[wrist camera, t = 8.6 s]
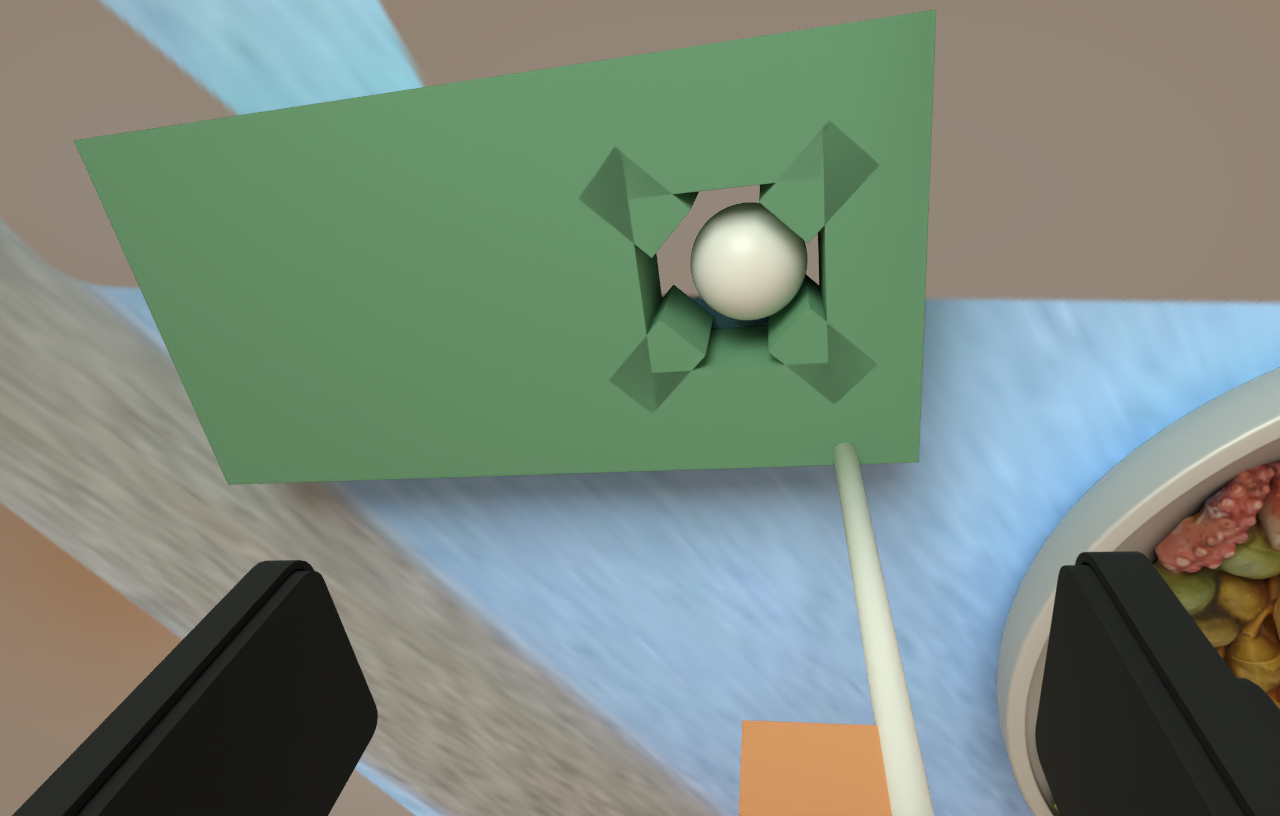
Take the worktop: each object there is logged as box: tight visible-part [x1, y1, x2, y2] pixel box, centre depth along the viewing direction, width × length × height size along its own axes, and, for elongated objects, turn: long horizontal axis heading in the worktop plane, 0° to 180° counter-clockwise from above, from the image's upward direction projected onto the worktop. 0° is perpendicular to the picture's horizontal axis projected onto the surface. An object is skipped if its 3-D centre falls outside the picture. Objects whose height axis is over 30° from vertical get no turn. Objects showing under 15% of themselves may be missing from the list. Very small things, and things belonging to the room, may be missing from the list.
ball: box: [691, 203, 807, 320], centre depth 25 cm, size 4×4×4 cm
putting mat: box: [74, 10, 936, 816], centre depth 21 cm, size 14×28×18 cm, turn 97°
